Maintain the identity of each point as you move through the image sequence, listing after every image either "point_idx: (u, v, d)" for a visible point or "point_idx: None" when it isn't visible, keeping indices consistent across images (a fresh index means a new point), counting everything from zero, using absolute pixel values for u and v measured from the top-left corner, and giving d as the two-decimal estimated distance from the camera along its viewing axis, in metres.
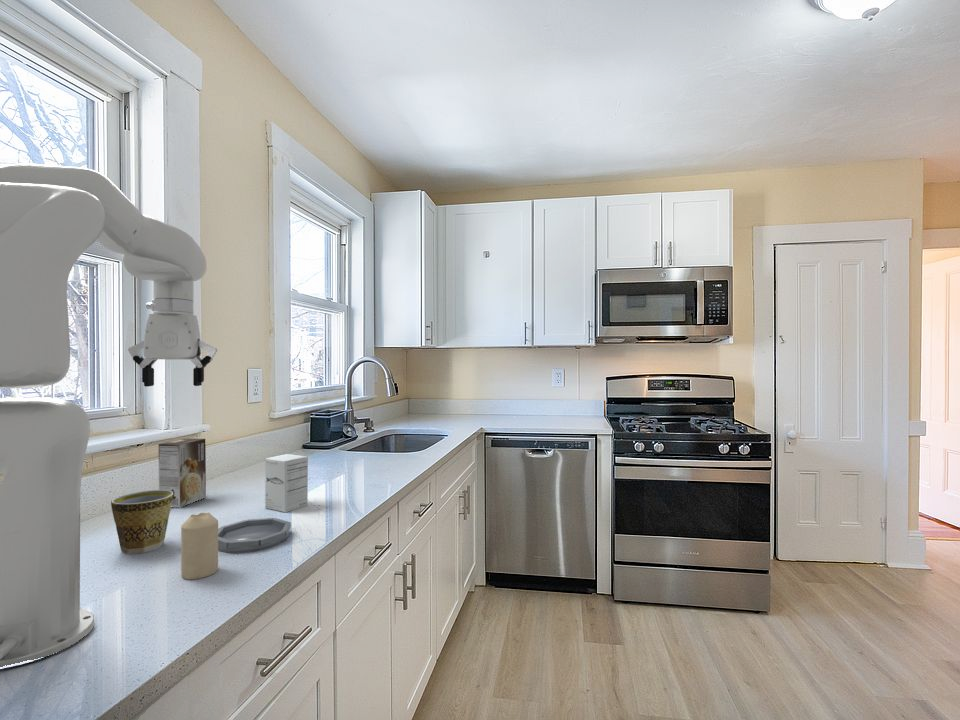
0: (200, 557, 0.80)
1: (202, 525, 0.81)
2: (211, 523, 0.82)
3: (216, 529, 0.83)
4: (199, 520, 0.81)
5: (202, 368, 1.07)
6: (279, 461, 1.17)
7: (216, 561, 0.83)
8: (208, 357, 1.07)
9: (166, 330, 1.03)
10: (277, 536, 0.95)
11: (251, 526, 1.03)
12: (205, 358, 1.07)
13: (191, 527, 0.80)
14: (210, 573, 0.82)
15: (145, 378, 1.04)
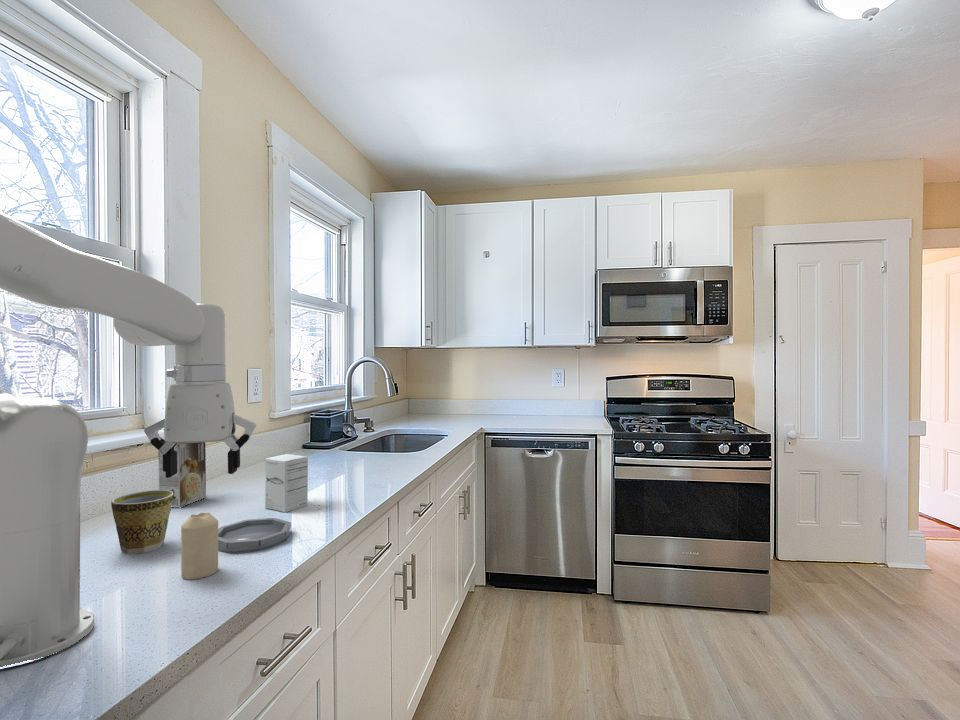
0: (200, 557, 0.80)
1: (202, 525, 0.81)
2: (211, 523, 0.82)
3: (216, 529, 0.83)
4: (199, 520, 0.81)
5: (238, 450, 0.84)
6: (279, 461, 1.17)
7: (216, 561, 0.83)
8: (246, 436, 0.84)
9: (193, 406, 0.80)
10: (277, 536, 0.95)
11: (251, 526, 1.03)
12: (242, 438, 0.84)
13: (191, 527, 0.80)
14: (210, 573, 0.82)
15: (167, 467, 0.81)
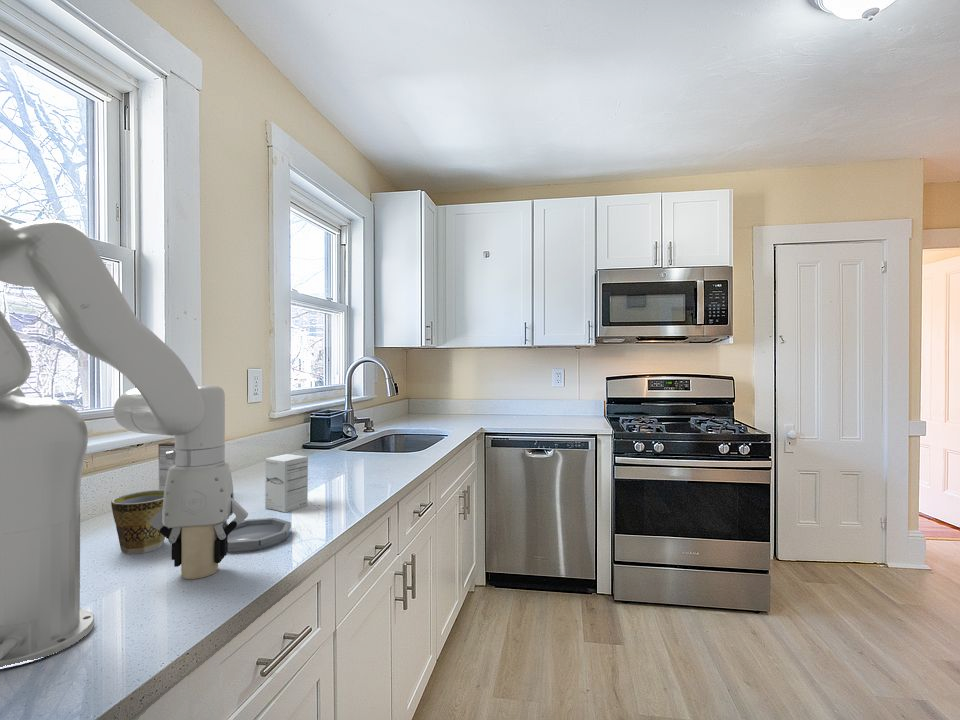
0: (200, 556, 0.80)
1: None
2: None
3: None
4: None
5: (226, 537, 0.84)
6: (279, 461, 1.17)
7: None
8: (233, 524, 0.83)
9: (191, 490, 0.80)
10: (277, 536, 0.95)
11: (251, 526, 1.03)
12: (229, 526, 0.83)
13: (191, 527, 0.80)
14: (210, 573, 0.82)
15: (176, 557, 0.81)
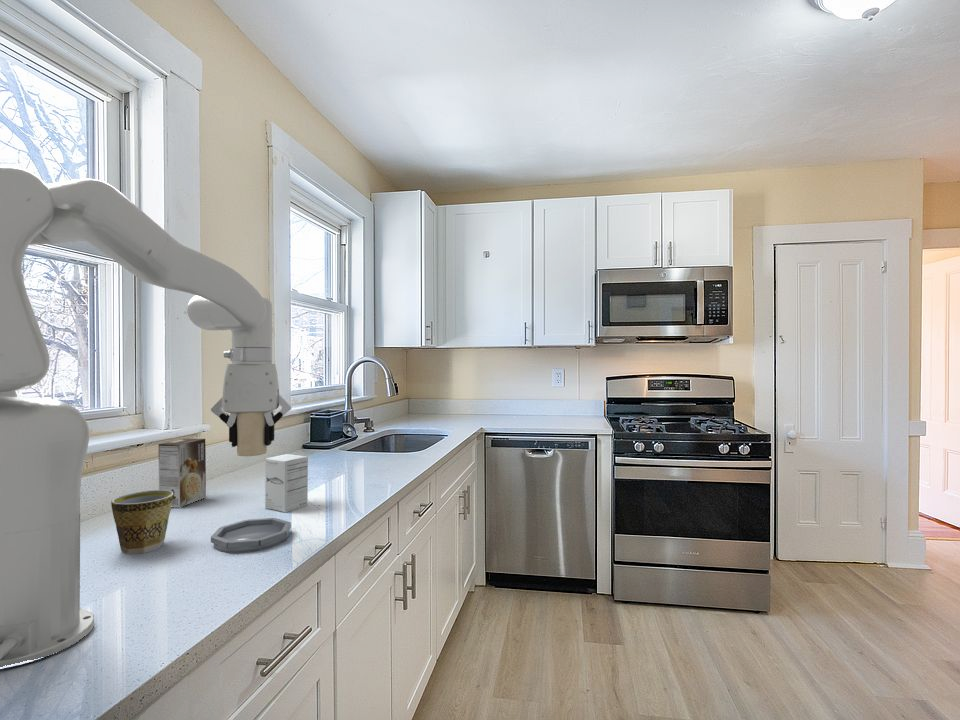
0: (253, 438, 0.96)
1: None
2: None
3: None
4: None
5: (273, 425, 0.99)
6: (279, 461, 1.17)
7: None
8: (280, 414, 0.99)
9: (246, 382, 0.96)
10: (277, 536, 0.95)
11: (251, 526, 1.03)
12: (277, 415, 0.99)
13: None
14: (261, 453, 0.97)
15: (233, 438, 0.96)
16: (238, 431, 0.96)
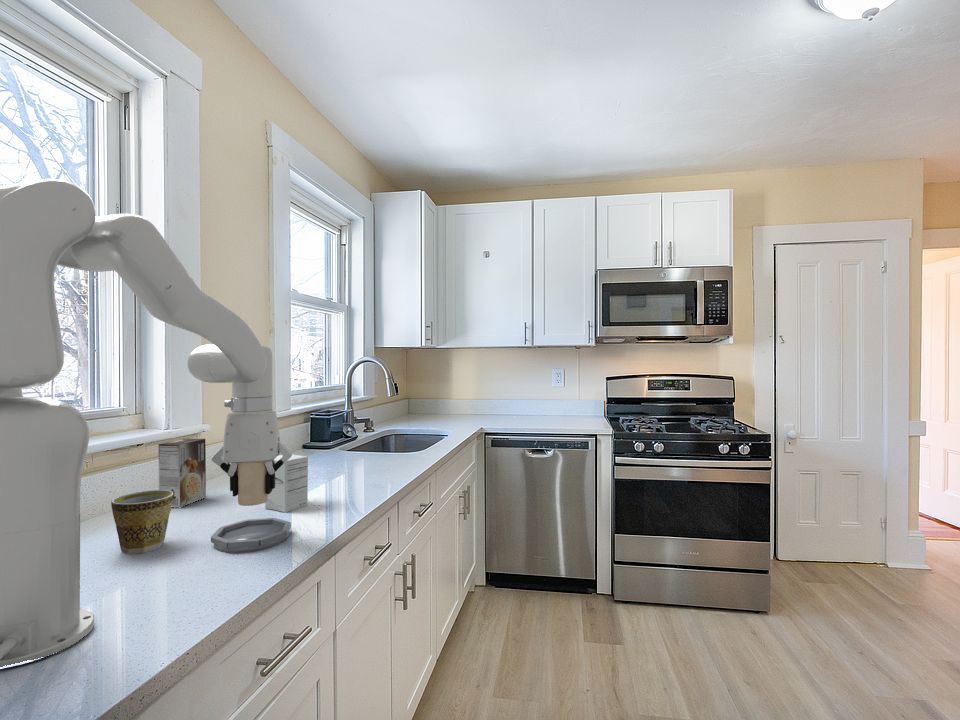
0: (254, 487, 0.96)
1: None
2: None
3: None
4: None
5: (274, 473, 0.99)
6: None
7: None
8: (280, 462, 0.99)
9: (247, 431, 0.96)
10: (277, 536, 0.95)
11: (251, 526, 1.03)
12: (277, 463, 0.99)
13: (247, 462, 0.96)
14: (262, 502, 0.98)
15: (234, 488, 0.96)
16: (239, 480, 0.97)
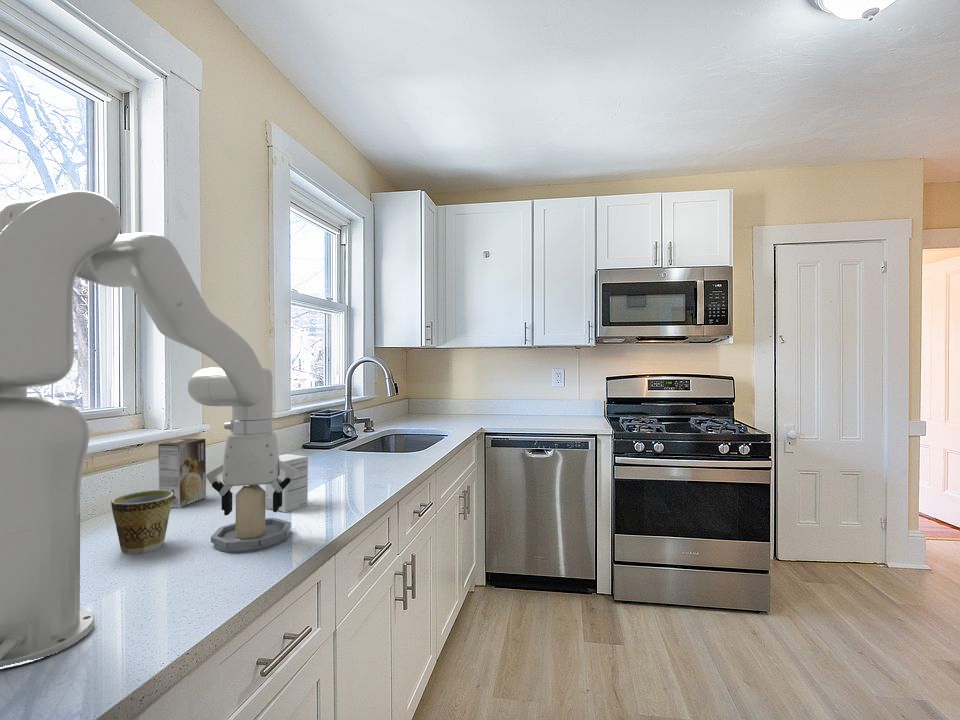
0: (252, 520, 0.96)
1: (253, 494, 0.96)
2: (260, 492, 0.97)
3: (264, 498, 0.99)
4: (251, 490, 0.97)
5: (281, 491, 1.00)
6: None
7: (264, 525, 0.99)
8: (288, 480, 0.99)
9: (247, 454, 0.96)
10: (277, 536, 0.95)
11: None
12: (285, 481, 0.99)
13: (244, 495, 0.96)
14: (260, 534, 0.97)
15: (225, 507, 0.96)
16: (237, 513, 0.96)
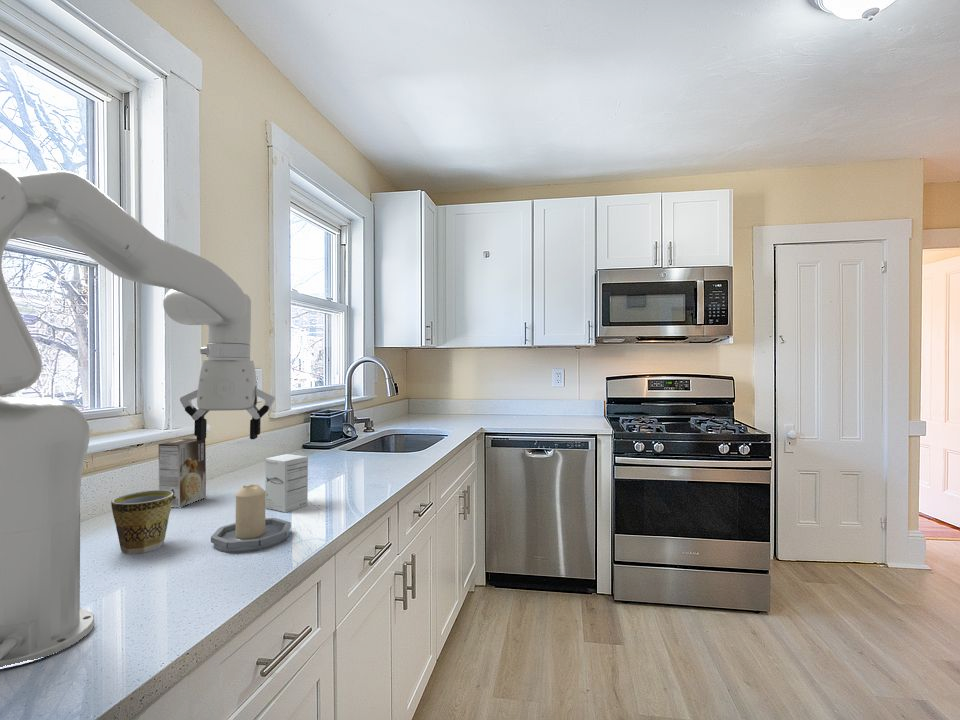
0: (252, 520, 0.96)
1: (253, 494, 0.96)
2: (260, 492, 0.97)
3: (264, 498, 0.99)
4: (251, 490, 0.97)
5: (259, 419, 0.97)
6: (279, 461, 1.17)
7: (264, 525, 0.99)
8: (266, 407, 0.97)
9: (222, 378, 0.93)
10: (277, 536, 0.95)
11: None
12: (263, 408, 0.96)
13: (244, 495, 0.96)
14: (260, 534, 0.97)
15: (198, 431, 0.93)
16: (237, 513, 0.96)
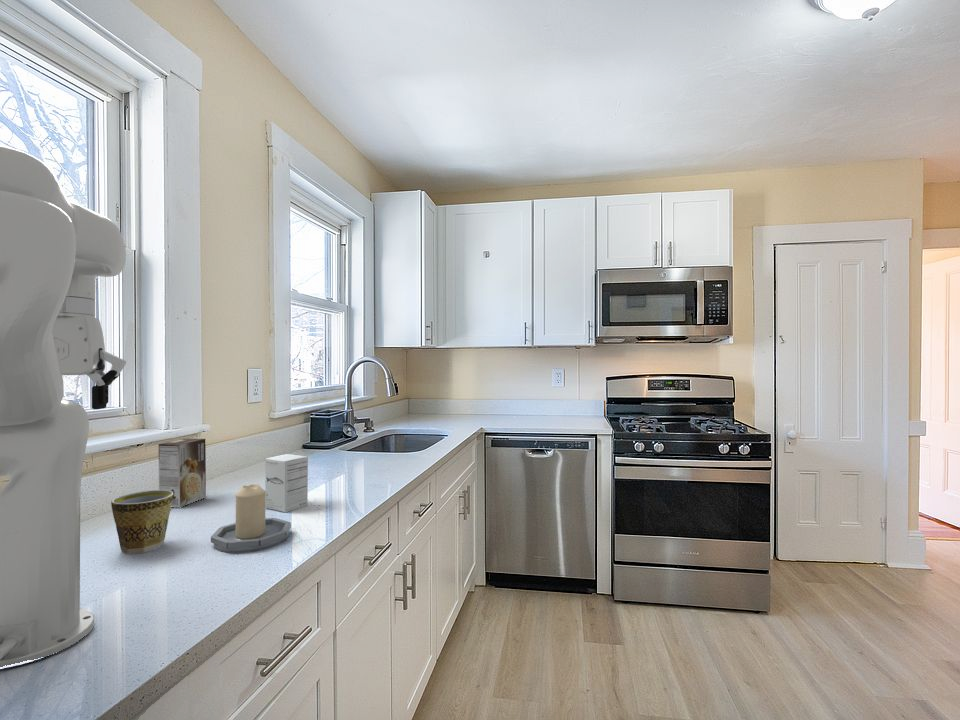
0: (252, 520, 0.96)
1: (253, 494, 0.96)
2: (260, 492, 0.97)
3: (264, 498, 0.99)
4: (251, 490, 0.97)
5: (105, 386, 0.83)
6: (279, 461, 1.17)
7: (264, 525, 0.99)
8: (112, 372, 0.83)
9: (53, 337, 0.79)
10: (277, 536, 0.95)
11: None
12: (108, 373, 0.83)
13: (244, 495, 0.96)
14: (260, 534, 0.97)
15: None
16: (237, 513, 0.96)
